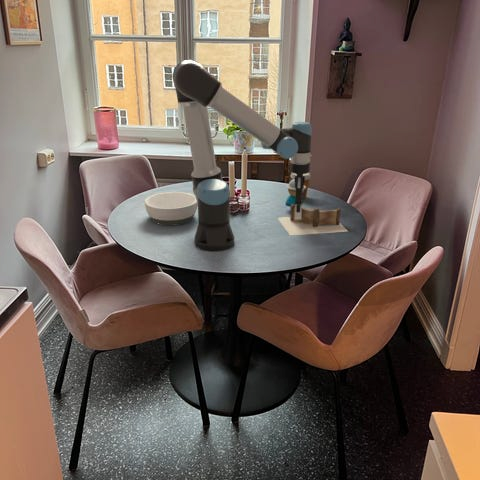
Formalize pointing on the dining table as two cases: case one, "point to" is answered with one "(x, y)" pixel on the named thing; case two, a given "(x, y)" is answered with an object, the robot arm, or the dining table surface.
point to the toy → (292, 193)
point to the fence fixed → (326, 217)
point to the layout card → (308, 227)
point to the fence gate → (302, 215)
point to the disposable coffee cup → (306, 182)
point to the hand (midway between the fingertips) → (297, 218)
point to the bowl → (171, 207)
